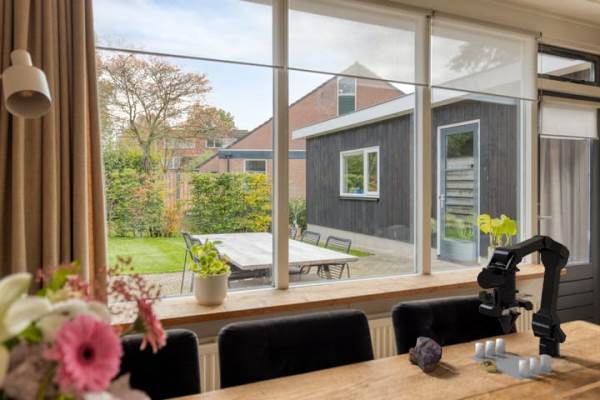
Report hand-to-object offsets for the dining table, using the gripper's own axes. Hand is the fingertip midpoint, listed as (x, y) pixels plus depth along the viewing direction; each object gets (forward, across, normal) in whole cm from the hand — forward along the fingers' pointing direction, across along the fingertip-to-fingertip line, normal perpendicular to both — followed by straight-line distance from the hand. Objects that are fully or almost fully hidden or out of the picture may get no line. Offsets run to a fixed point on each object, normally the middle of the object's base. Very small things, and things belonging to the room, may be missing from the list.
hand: (506, 333), depth 139 cm
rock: (+12, +22, -13) cm, 28 cm away
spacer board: (+12, -2, 0) cm, 12 cm away
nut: (+11, +7, 0) cm, 13 cm away
